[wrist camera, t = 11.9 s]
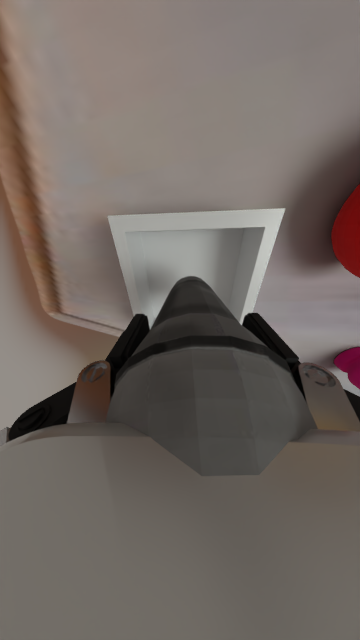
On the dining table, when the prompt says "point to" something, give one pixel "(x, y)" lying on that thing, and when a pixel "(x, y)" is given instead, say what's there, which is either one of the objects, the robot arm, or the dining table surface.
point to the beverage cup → (209, 388)
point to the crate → (195, 255)
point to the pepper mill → (350, 364)
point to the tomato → (348, 233)
